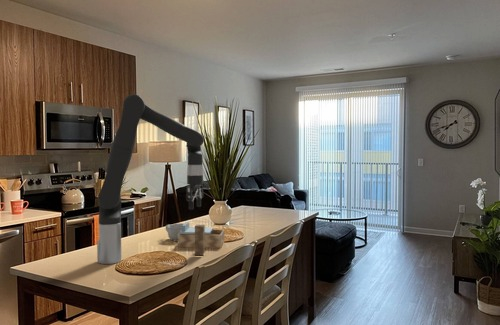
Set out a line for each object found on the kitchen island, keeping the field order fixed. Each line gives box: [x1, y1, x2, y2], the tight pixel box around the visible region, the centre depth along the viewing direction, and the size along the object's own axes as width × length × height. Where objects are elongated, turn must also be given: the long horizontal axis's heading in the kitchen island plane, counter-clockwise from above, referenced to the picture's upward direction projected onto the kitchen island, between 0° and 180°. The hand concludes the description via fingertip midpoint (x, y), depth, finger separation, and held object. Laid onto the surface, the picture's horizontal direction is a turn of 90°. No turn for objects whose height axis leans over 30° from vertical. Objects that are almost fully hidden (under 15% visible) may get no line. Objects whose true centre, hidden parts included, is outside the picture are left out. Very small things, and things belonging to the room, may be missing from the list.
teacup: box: [165, 222, 184, 242], centre depth 207 cm, size 14×11×8 cm
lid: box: [180, 221, 214, 234], centre depth 193 cm, size 15×13×4 cm
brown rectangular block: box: [194, 224, 206, 257], centre depth 176 cm, size 4×4×14 cm
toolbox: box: [177, 228, 226, 249], centre depth 193 cm, size 22×13×7 cm, turn 87°
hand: (195, 208), depth 178 cm, fingers open, 8 cm apart
